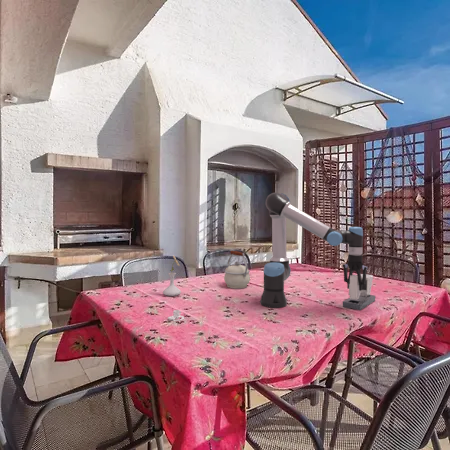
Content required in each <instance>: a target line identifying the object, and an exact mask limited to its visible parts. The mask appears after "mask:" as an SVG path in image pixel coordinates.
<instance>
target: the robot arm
mask: <svg viewBox="0 0 450 450" xmlns="http://www.w3.org/2000/svg"><path fill="white" fill-rule="evenodd" d="M265 206H266V209H268V211H269V217H270V218H271V234H272V235H271V236H272V237H271V240H272V241H271V243H272V244H271V245H272V247H271V248H272V249H271V250H272V255H271V256H272V257H271V258H269V262H267V263H266V264H264V267H263V292H262V294H261V298H260V299H259V300H260V303H259V304H260V305H261V306H263V307H267V308H276V309H277V308H278V309H280V308H284V307H286V306H287V305H288V303H287V297H286V294H285V281H286V280H287V279H289V277H290V276H291V269H292V268H291V266H290V259H289V258H288V257H287V219H288V220H290V221H291V222H294V223H295V224H297V225H298V226H300V227H302V228H304V229H305V230H306V231H308V232H310V233H311V234H313V235H316V236H317V237H318V238H320V239H322V240H324V242H326V243H327V244H329V245H330V246H332V247H338V246H340V244H347V246H348V248H347V252H348V255H347V263H344V264H343V265H342V268H343V281H344V283H346V284H347V285H346V287H347V290H348V296H350V275H354V272H355V273H356V275H357V276H358V282H359V284H358V285H357V297H359V296H360V291H361V290H362V285H363V284H366V274H367V271H368V270H369V267H368V266H366V265H364V263H363V251H364V250H363V249H364V248H363V247H364V245H363V243H364V230H363V229H364V228H363V227H360V226H349V227H348V229H347V230H346V229H345V230H341V229H334V228H332V227H330V226H328V225H327V224H326V223H324V222H321V221H319V220H318V219H316V218H314V217H313V216H311V215H310V214H308V213H306V212H304V211H302V210H300V209H299V208H298V207H296V206H294V205H292V204H291V201H290V197H288V196H287V195H286V194H284V193H280V192H272V193H270V194H269V195H267V197H266V198H265ZM348 268H349V272H348ZM361 270H362V271H361ZM361 272H362V273H361ZM361 274H363V278H361Z"/></svg>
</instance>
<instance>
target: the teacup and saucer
mask: <svg viewBox="0 0 450 450" xmlns="http://www.w3.org/2000/svg"><path fill="white" fill-rule="evenodd" d="M172 314H173V315H171V316H168V317H167V320H168V321H173V322H175V321H178V322H180V321H182V320H184V319H185V316H184V315H181V314H182V311H181V310H180V309H175V310H173V313H172ZM179 318H180V319H179Z"/></svg>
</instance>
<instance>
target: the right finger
mask: <svg viewBox="0 0 450 450" xmlns="http://www.w3.org/2000/svg"><path fill="white" fill-rule="evenodd" d="M358 284H359V282H358V276H357V274H353V275H350V295H349V298H350V299H356V300H357V299H359V297H357V285H358Z"/></svg>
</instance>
